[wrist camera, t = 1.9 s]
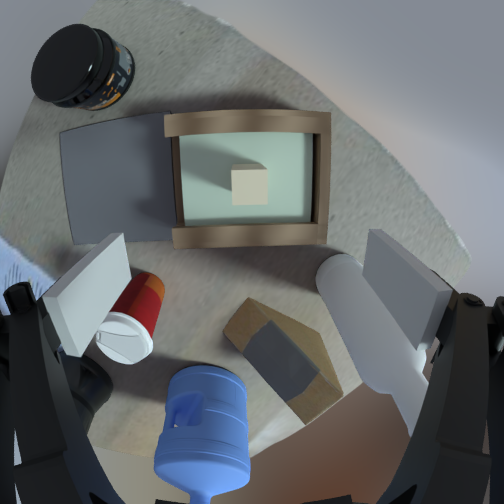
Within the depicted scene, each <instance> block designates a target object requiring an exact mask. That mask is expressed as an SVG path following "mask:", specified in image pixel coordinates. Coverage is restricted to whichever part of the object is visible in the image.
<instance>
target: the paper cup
mask: <svg viewBox="0 0 504 504" xmlns="http://www.w3.org/2000/svg"><path fill="white" fill-rule="evenodd" d="M164 293H165V288H164V285H163V283H162V281H161V280H160V279H159V278H158V277H157V276H156V275H154V274H151V273H140V274H138V275H137V276H136V277H135V278H134V279H133V280H132V281H131V282H130V283H129V284H128V285H127V287H126V288H125V289H124V290H123V292H122V293H121V295H120V296H119V298H118V299H117V300H116V302H115V303H114V305H113V307H112V308H111V310H110V311H109V313H108V314H107V316H106V317H105V319H104V320H103V322H102V323H101V325H100V327H99V328H98V330H97V331H96V342H97V345H98V346H99V348H100V349H101V351H102V352H103V353H104V354H105V355H107V356H108V357H109V358H111V359H112V360H114V361H117V362H119V363H123V364H135V363H137V362H139V361H140V360H142V359H144V358H145V357H146V356H147V355H148V354H150V353H151V352H152V349H153V341H152V335H153V332H154V328H155V325H156V322H157V318H158V315H159V311H160V308H161V304H162V301H163V297H164Z"/></svg>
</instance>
